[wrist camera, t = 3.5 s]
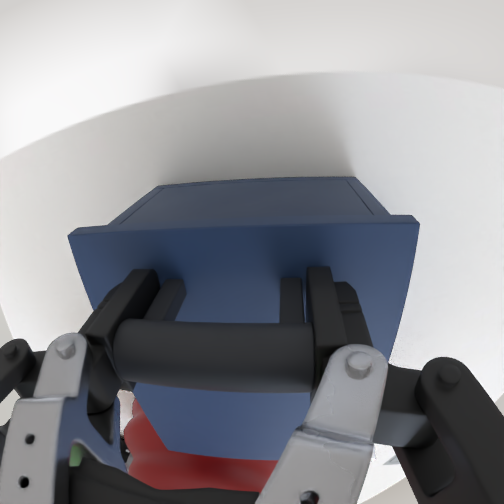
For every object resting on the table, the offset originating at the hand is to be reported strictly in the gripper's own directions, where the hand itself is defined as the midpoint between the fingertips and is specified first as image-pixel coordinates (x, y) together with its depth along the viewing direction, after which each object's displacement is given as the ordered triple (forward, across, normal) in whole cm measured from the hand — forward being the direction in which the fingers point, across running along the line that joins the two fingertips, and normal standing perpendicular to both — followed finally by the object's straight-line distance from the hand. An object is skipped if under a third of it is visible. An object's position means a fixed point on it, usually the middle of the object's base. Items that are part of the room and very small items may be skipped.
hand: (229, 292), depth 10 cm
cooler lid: (+1, 0, +6) cm, 6 cm away
